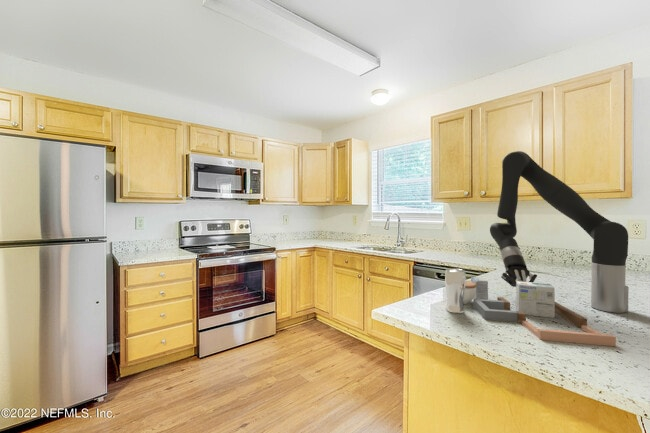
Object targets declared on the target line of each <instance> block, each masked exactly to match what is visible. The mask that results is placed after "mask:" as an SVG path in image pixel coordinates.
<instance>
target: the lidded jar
mask: <svg viewBox="0 0 650 433" xmlns="http://www.w3.org/2000/svg"><path fill="white" fill-rule="evenodd" d="M475 293H476V283H474V282H471V280H470V281H469V280H466V287H465V293H464V297H463V305H465V304H470V303H471V302H473V299H474V297H475Z"/></svg>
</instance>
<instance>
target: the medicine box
mask: <svg viewBox="0 0 650 433" xmlns="http://www.w3.org/2000/svg"><path fill="white" fill-rule="evenodd" d="M470 282H474V283H476V293H475V297H474V298H473V299H485V300H489V282H488V280H486V279H484V278H483V277H481V276H471V278H470Z"/></svg>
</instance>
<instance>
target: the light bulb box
mask: <svg viewBox="0 0 650 433" xmlns="http://www.w3.org/2000/svg"><path fill="white" fill-rule="evenodd" d="M515 288H516V289H515V290H516V291H515V292H516V293H515V294H516V297H515V298H516V300H515V301H516V302H515V303H516V308H515V309H516V311H522V312H523V313H525V314H526V316H528V315H529V316H534V317H535V316H536V317H541V318H551V319H555V317H556V316H555V314H556V313H555V302H556V301H555V299H556V298H555V296H556V294H555V293H556V292H555V286H553V285H552V284H550V283H546V282H545V283H543V282H529V281H526V282H520V281H516V287H515Z"/></svg>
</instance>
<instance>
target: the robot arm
mask: <svg viewBox="0 0 650 433" xmlns="http://www.w3.org/2000/svg"><path fill="white" fill-rule="evenodd" d="M501 164H502V165H501V168H502V174H501V176H502V177H501V178H502V180H501V181H502V182H501V190H500V197H499V202H498V206H497V208H498V209H497V214H496V215H497V217H498V218H499V219H502V220H506V223H505V222H494V223H492V224H491V225H490V227H489V233H490V236H491V237H492V239H493V240H494V242H495V243H496V244H497V245H498V247H499V250H500V251H499V252H500V253H501V259H502V262H503V265H504V268H505V272H502V274H501V279H502V280H504V281H505V282H506V283H507V284H509V286H511V287H513V288H516V281H520V282H527V280H528V279H529V281H528V282H533V283H535V280H536V279H537V277H538V275H537V274H535V273H534V274H532V273H531V272H530V270H529V269H528V267H527V264H526V261H525V259H524V256H523V254H522V251H521V249H520V248H519V245H518V242H517V240H516V239H515V237H516V235H517V232H518V229H517V223H516V221H517V220H516V213H517V209H518V208H517V207H518V200H519V183H520V179H521V177H522V178H523V179H524V180H526V181H527V182H528V184H529V185H531V187H533V189H534V190H535V192H537V194H538V195H539V196H540V197H541V198H542V200H544V201H545V202H546V203H548V204H549V205H551V207H553V208H554V209H556V210H557V211H558V212H560V213H561V214H563V215H564V216H566V218H567V217H568V218H569V219H571V220H572V221H573V222H575V223H576V224H577V225H578V226H580V228H582V229H583V231H585V232H586V233H587V234H588V235H589V236H590V237H591V239H592V241H593V250H592V251H593V252H592V255H591V280H590V282H591V284H590V288H591V289H590V292H591V293H590V306H591V308H594V309H596V310H599V311H603V312H608V313H617V314H619V313H620V314H623V313H629V290H630V289H629V286H628V285H626V271H627V270H626V266H627V265H626V264H627V262H626V261H627V258H628V253H629V232H628V229H627V228H626V227H625V226H624V225H623V224H621V223H619V222H615V221H611V220H610V219H608V218H606V217H604V216H603V215H601V214H600V213H598V212H597V211H595V210H594V209H593V208H592V207H591V206H590V205H589V204H588V203H587V202H586V201H585V200H584V198H583V197H582V196H581V195H580V194H579V193H578V192H577V191H575V190H574V189H572V187H570V186H569V185H567V184H566V183H565V182H564V181H562V180H561V179H559V178H557V177H556V176H555V175H553V174H551V173H550V172H548V171H547V170H546V169H543V167H541V166H540V165H539V164H538V163H537V162H536V161H535V160H534V159H532V157H530V155H529V154H527V152H525V151H519V150H518V151H512V152H509V153H507V154H506V155H505V156H504V157H503V159H502V163H501Z"/></svg>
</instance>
